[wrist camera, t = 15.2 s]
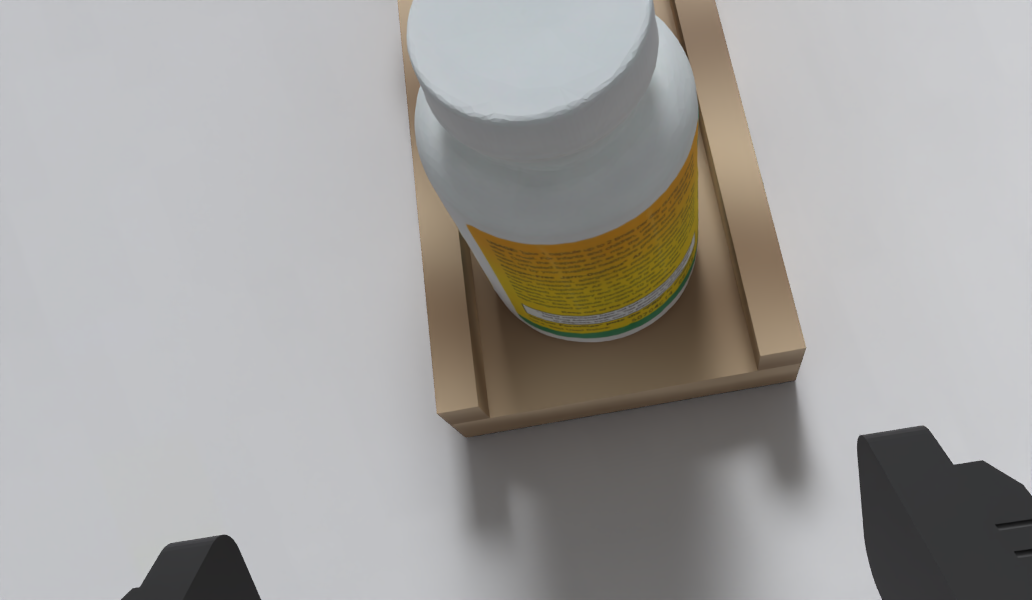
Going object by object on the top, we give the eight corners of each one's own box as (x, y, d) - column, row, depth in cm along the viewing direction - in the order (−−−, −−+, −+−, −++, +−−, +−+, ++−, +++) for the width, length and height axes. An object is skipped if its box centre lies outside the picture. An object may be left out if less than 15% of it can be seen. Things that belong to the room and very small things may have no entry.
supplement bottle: (451, 247, 24) (300, 18, 15) (603, 120, 24) (543, -175, 15) (582, 394, 22) (497, 229, 13) (746, 252, 22) (772, -2, 13)
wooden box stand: (795, 380, 22) (871, 146, 12) (465, 437, 24) (267, 272, 13) (672, -103, 28) (650, -543, 18) (414, -38, 30) (250, -415, 19)
